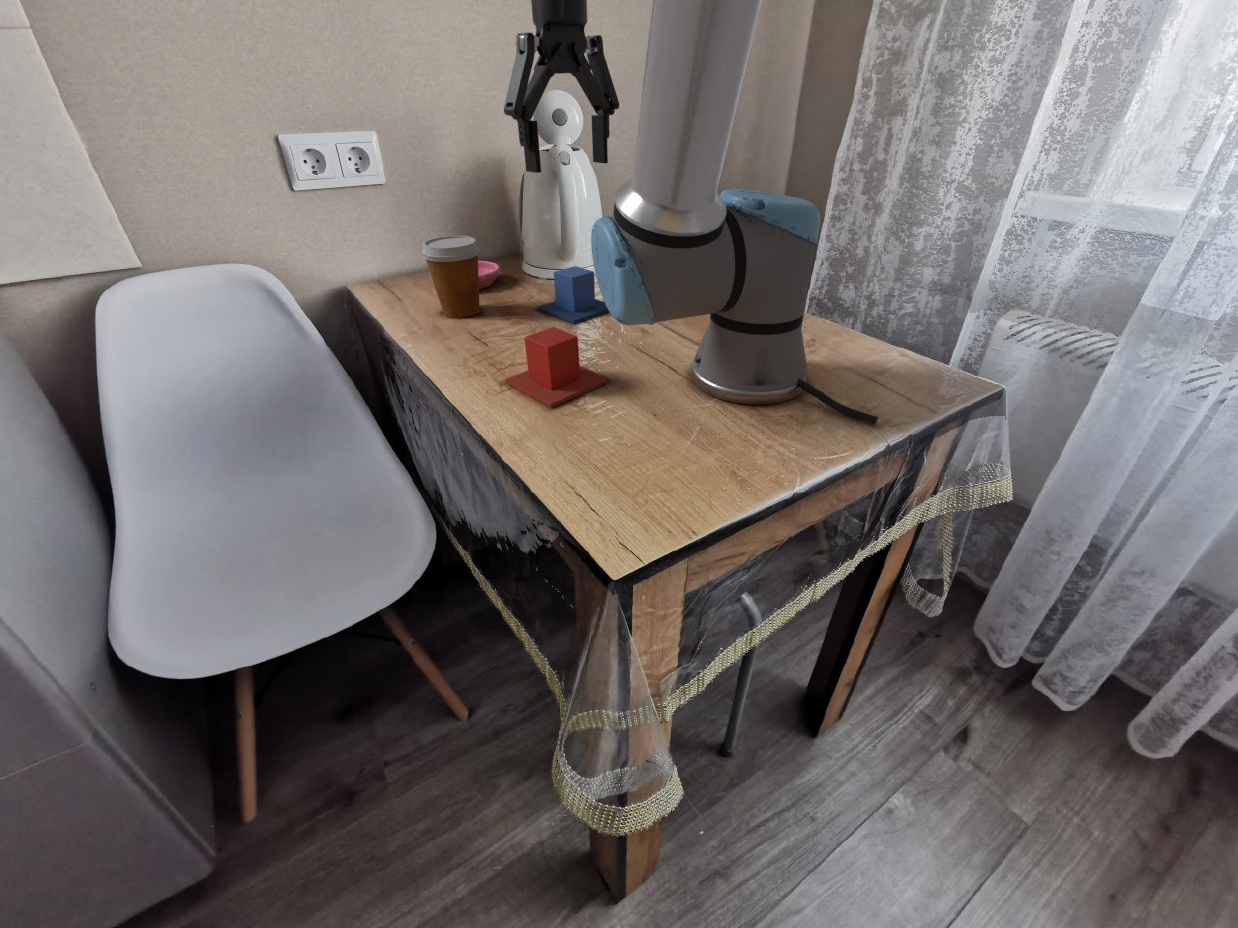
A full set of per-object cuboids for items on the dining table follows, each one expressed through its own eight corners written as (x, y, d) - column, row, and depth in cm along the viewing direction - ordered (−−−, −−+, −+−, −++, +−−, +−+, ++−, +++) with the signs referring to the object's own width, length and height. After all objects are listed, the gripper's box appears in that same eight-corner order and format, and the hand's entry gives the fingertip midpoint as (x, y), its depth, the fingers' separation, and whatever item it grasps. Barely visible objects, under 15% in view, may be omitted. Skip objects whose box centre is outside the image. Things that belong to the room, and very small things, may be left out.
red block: (580, 378, 76) (578, 336, 73) (551, 390, 73) (547, 347, 70) (557, 367, 79) (553, 326, 76) (528, 378, 76) (523, 336, 73)
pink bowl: (445, 275, 118) (442, 260, 116) (504, 274, 118) (502, 258, 117) (433, 294, 108) (429, 278, 106) (497, 292, 108) (495, 276, 106)
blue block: (595, 305, 100) (594, 271, 96) (574, 312, 97) (572, 277, 94) (577, 299, 103) (575, 265, 99) (556, 305, 100) (553, 271, 96)
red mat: (608, 382, 76) (608, 378, 76) (551, 408, 70) (550, 404, 70) (561, 361, 82) (561, 357, 82) (505, 383, 76) (504, 379, 76)
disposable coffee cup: (482, 321, 96) (471, 248, 89) (427, 321, 96) (411, 249, 89) (493, 302, 103) (484, 234, 97) (442, 303, 104) (429, 235, 97)
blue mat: (616, 309, 100) (615, 305, 100) (573, 324, 94) (573, 320, 94) (579, 296, 106) (579, 293, 105) (537, 309, 100) (537, 306, 100)
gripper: (606, -2, 84) (609, 157, 96) (462, -16, 70) (487, 173, 82) (642, -7, 80) (641, 161, 92) (496, -22, 65) (517, 178, 78)
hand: (568, 167), depth 87 cm, fingers open, 13 cm apart
